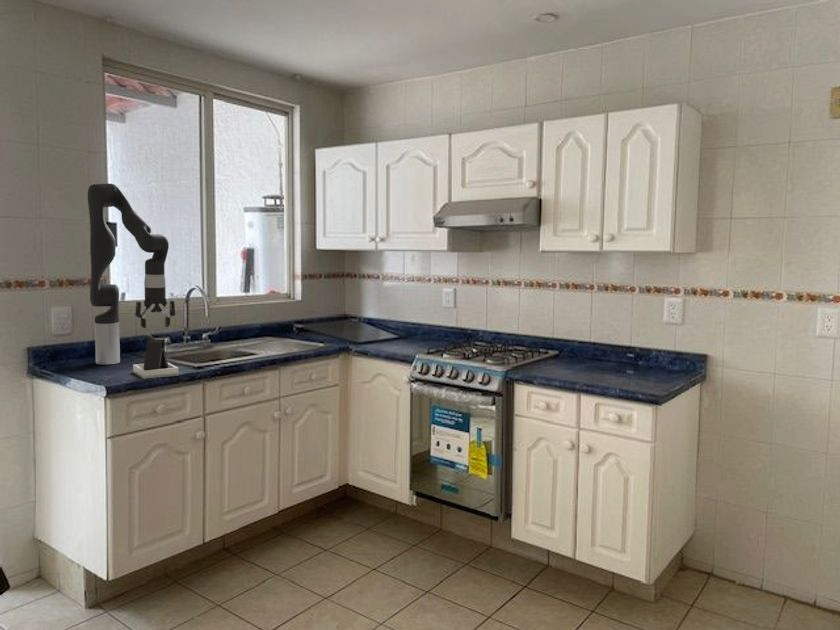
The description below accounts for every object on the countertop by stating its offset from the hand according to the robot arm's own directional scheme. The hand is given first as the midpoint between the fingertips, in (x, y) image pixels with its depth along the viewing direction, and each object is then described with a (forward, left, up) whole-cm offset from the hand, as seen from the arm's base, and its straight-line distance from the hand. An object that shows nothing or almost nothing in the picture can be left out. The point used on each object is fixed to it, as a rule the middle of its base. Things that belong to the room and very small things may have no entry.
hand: (155, 327), depth 250 cm
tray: (0, 0, -18) cm, 18 cm away
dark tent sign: (0, 0, -18) cm, 18 cm away
